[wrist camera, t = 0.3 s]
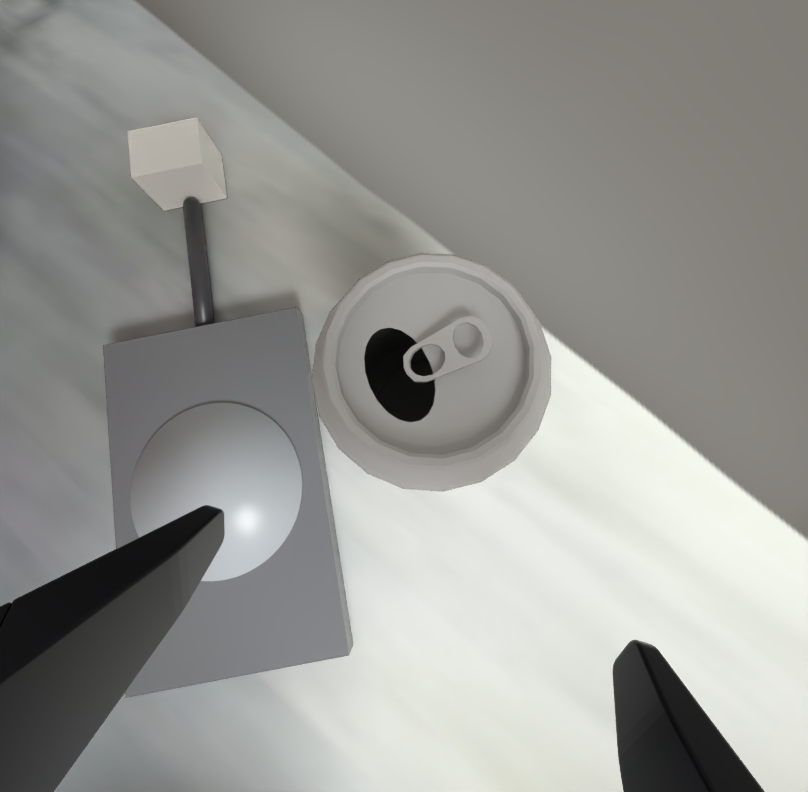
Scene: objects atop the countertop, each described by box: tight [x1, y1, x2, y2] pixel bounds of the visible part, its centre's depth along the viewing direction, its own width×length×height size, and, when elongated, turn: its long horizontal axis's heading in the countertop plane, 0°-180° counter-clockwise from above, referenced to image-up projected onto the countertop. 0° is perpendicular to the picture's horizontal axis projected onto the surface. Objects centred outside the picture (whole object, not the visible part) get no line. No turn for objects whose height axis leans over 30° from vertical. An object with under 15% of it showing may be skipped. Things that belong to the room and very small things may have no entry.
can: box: [312, 253, 551, 491], centre depth 17 cm, size 8×8×12 cm
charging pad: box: [103, 117, 353, 698], centre depth 22 cm, size 30×11×3 cm, turn 11°
